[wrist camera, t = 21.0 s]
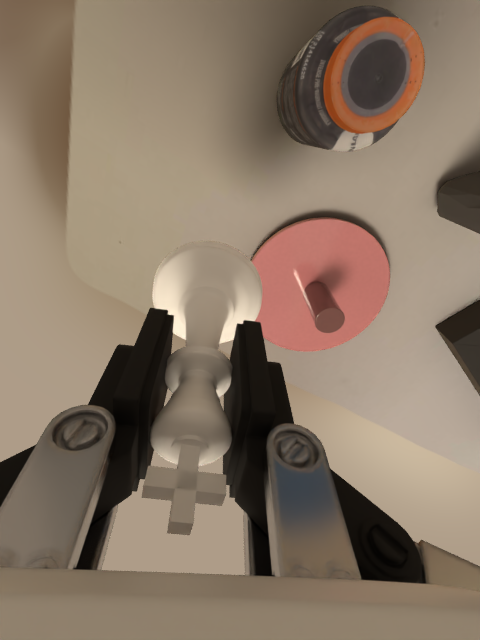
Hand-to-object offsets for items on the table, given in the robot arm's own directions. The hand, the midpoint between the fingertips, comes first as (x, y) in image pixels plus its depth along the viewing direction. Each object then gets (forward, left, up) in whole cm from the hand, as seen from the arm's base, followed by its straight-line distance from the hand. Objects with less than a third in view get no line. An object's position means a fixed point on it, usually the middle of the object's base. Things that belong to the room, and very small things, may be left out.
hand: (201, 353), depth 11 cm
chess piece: (0, 0, -5) cm, 5 cm away
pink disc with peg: (+10, -5, -19) cm, 22 cm away
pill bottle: (+6, +9, -20) cm, 22 cm away
